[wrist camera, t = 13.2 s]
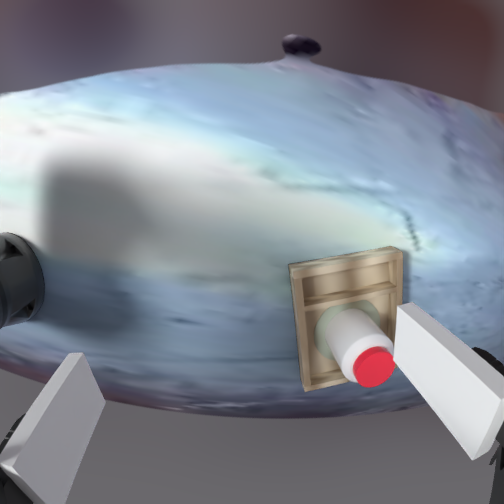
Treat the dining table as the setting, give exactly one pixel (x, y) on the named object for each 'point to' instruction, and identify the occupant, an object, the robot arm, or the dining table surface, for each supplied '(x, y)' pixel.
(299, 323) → the crate
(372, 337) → the pill bottle
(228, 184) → the dining table surface
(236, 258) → the dining table surface
